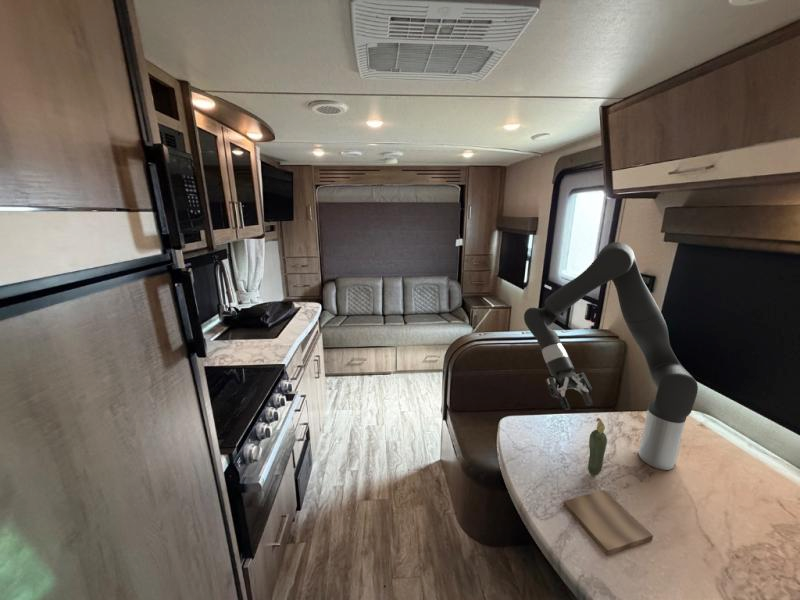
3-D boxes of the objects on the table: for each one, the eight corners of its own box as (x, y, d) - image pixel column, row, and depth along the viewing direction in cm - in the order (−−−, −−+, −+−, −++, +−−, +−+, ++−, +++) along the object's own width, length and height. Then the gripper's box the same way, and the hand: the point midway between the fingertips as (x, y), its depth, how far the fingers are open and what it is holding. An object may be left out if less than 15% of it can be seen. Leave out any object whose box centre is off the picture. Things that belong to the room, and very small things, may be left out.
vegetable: (602, 483, 94) (613, 426, 89) (586, 481, 95) (596, 424, 90) (596, 471, 98) (606, 416, 93) (581, 469, 99) (590, 415, 94)
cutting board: (603, 493, 91) (604, 489, 90) (652, 539, 78) (653, 535, 77) (563, 505, 87) (563, 500, 87) (606, 555, 74) (607, 550, 74)
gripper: (545, 358, 103) (567, 408, 95) (581, 353, 106) (605, 401, 98) (533, 365, 109) (553, 413, 101) (567, 360, 112) (589, 406, 105)
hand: (578, 407), depth 100 cm, fingers open, 8 cm apart
